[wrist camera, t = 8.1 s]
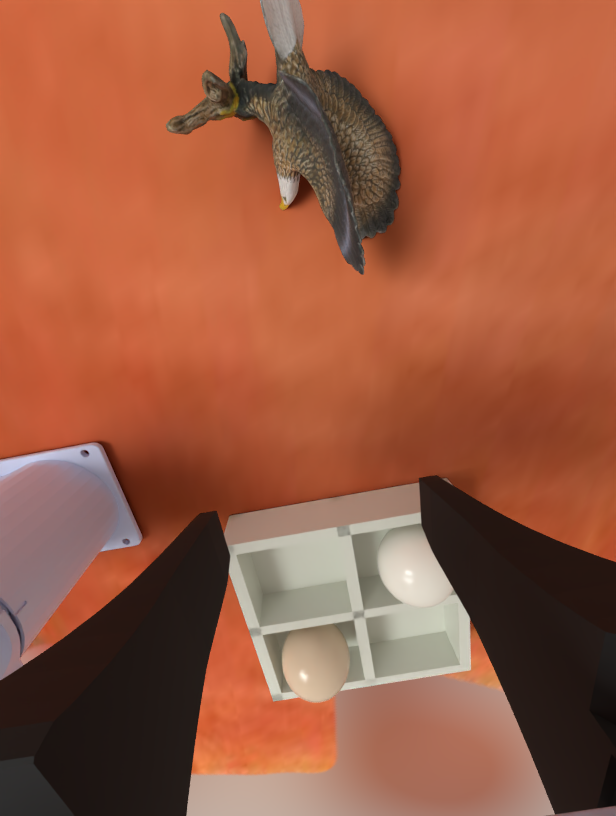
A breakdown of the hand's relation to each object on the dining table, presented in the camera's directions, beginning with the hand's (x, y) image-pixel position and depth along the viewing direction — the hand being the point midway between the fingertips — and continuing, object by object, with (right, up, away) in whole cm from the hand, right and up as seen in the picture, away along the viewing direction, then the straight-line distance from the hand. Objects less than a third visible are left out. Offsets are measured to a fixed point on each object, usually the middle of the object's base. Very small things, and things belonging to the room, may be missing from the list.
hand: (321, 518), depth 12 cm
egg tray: (+3, -9, +14) cm, 17 cm away
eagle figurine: (0, +16, +5) cm, 17 cm away
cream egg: (+6, -6, +12) cm, 15 cm away
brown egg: (0, -14, +15) cm, 20 cm away
